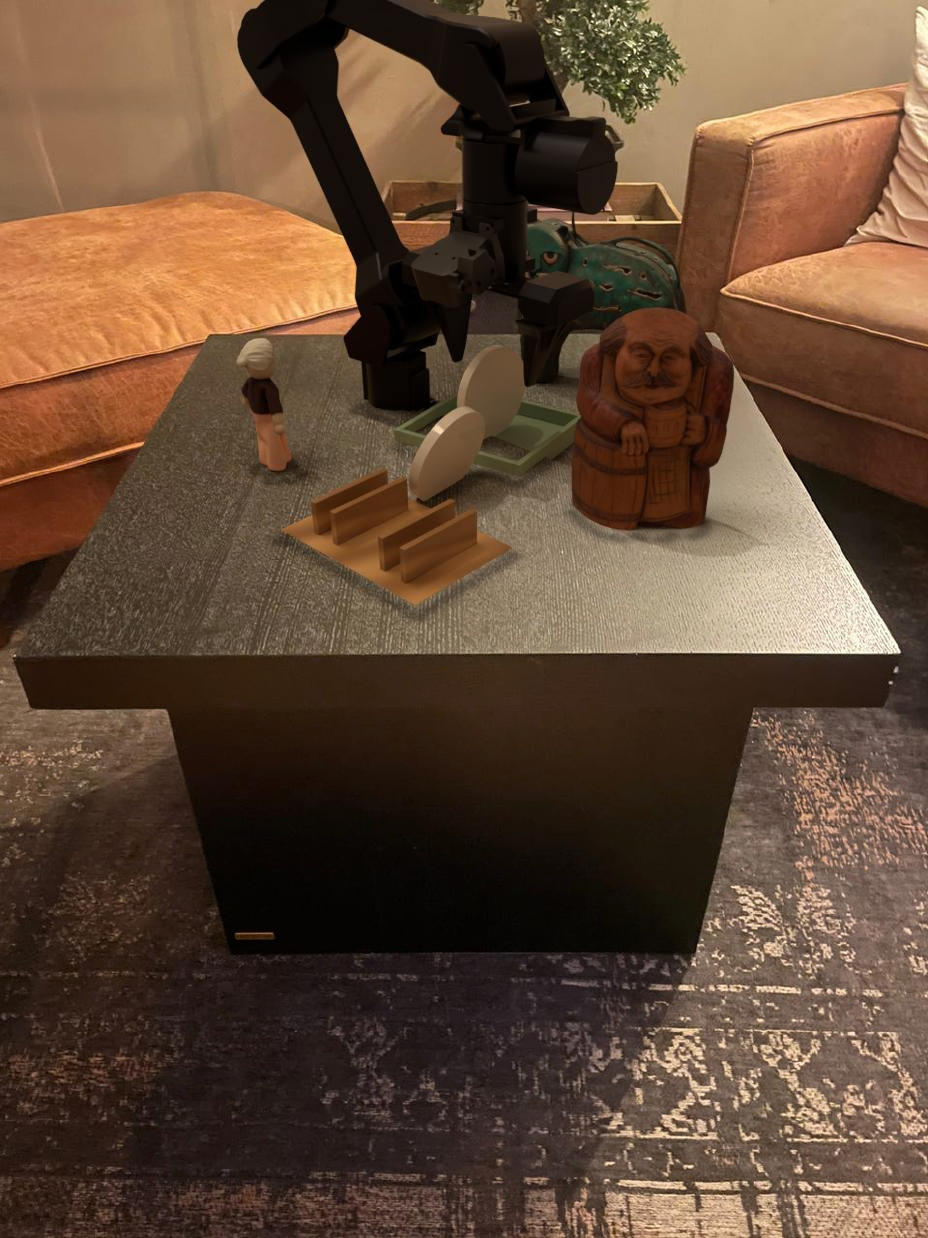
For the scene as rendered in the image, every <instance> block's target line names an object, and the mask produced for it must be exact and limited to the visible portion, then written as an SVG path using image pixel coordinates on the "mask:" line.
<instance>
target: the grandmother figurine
mask: <svg viewBox="0 0 928 1238" xmlns="http://www.w3.org/2000/svg"><path fill="white" fill-rule="evenodd" d="M273 354H274V348H273V344H272V343H271V342H270V341H269V340H268V339H267V338H264V337H260V338H253V339H251V340H249V341H248V342H247V343H245V344H244V346H243V348H242V349H241V351H240V353H239V355H238V356H237V359H236V361H235V362H236V365H237V366H238V367H240V368H246V371H247V373H248V375H250V377H248V378H247V379H246V380H245V381H244V383H243V385H242V386H241V389H240V391H241V394H242V401H241V403H242V406H243V407H245V408H246V409H247V408H248V409H249V408H250V410H251V412H252V415H253V419H254V423H255V430H256V435H257V446H258V458H259V462H260V464H262V465H264V466H267V468H268V469H269V471H273V472H281V471H284V470H286V468H287V463H289V462H290V461H291V460H292V459H293V457H292V452H291V448H290V444H289V441H288V437H287V434H286V433H287V427H286V425H285V417H284V409H283V405H282V403H281V399H280V389H279V387H278V385H276V383H275V382H274V381H273V380H272V378H271V377H272V376H273V375H274V373H275V371H276V366H277V365H276V360H275V357H274V356H273Z"/></svg>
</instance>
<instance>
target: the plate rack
mask: <svg viewBox="0 0 928 1238" xmlns="http://www.w3.org/2000/svg"><path fill="white" fill-rule="evenodd" d="M388 474H389V471H388V469H386V468H384V467H382V468H380V469H377V470H376V471H373V472H371V473H369V474H367V475H365V476H363V477H361V478H358V479H356V480H353V481H352V482H349V483H347V484H344V485H343V486H340V487H338V488H336V489H334V490H332V491H329V492H327V493H325V494H323V495H321V496H318V497H317V498H315V499H313V500H311V501H310V505H311V508H310V509H311V515H308V516H306V517H304V518H302V519H300V520H298V521H296V522H294V523H292V524H290V525H288V526H285V527H284V528H281V529H280V530H281V531H282V532H284V533H286V534H287V535H289V536H291V537H292V538H294V539H296V540H298V541H300V542H302V543H303V544H305V545H307V546H309V547H311V548H312V549H315V550H316V551H318V552H319V553H322V554H323V555H325V556H326V557H328V558H330V559H332V560H333V561H336V562H337V563H339V564H341V565H343V566H345V567H347V568H348V569H350V570H352V571H353V572H355V573H357V574H359V575H361V576H362V577H364V578H366V579H367V580H369V581H371V582H373V583H375V584H377V585H379V586H380V587H382V588H384V590H385V589H386V590H387V591H389V592H391V593H392V594H394V595H396V596H397V597H399V598H401V599H403V600H405V601H406V602H409V603H410V604H412V605H413V606H417V605H419V604H421V603H422V602H424V601H426V600H427V599H429V598H430V597H432V596H434V595H436V594H438V593H439V592H440V591H443V590H445V588H447V587H449V586H451V585H452V584H455V583H456V582H457V581H459V580H461V579H463V578H464V577H466V576H468V575H469V574H471V573H472V572H474V571H476V570H478V569H480V568H481V567H482V566H484V565H486V564H487V563H489V562H491V561H493V560H495V559H497V557H500V556H501V555H503V554H504V553H506V552H508V551H510V550H511V549H512V548H513V546H511V545H508V544H506V543H504V542H503V541H500V540H498V539H496V538H494V537H492V536H490V535H488V534H486V533H483V532H481V531H479V530H478V511H477V510H476V509H474V508H471V509H469V510H466V511H465V512H463V513H461V514H459V515H457V516H456V500H454V499H453V498H448V499H446V500H445V501H443V502H441V503H439V504H437V505H435V506H434V507H432V508H430V507H429V506H426V505H424V504H422V503H420V502H417V501H416V500H414V499H411V498H409V490H408V478H406V477H404V476H401V477H398V478H396V479H394V480H393V481H390V482H389V475H388Z"/></svg>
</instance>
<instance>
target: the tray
mask: <svg viewBox="0 0 928 1238" xmlns="http://www.w3.org/2000/svg"><path fill="white" fill-rule="evenodd" d="M457 397H458V391H456V392H454V393H453V394H451V395H449V396H447V397H446V398H444V399H442V400H441V401H440V402H438V403H436V404H435V405H433V406H431V407H430V408H428V409H426V410H424V411H423V412H420V414H418V415H416V416H414V417H413V418H411V419H409V420H407V421H406V422H404V423H402V424H400V426H398V427H396V428H394V429H393V432H394V435H393V436H394V441H396V442H399V443H402V444H406V445H409V446H413V447H416V448H419V447H420V446H421V444H422V442H423V441H424V439H425V438H426V436H427V435H425V434H421V433H418V431H419V430H422V429H423V428H424V427H426V426H427V425H429V424H431V423H432V422H434V421H435V420H438V419H439V418H440V417H442V418H443V417H444V416H445V415H447V414H448V413H450V412H451V411H453V410H454V409H457ZM580 417H581V416H580V413H579V412H575V411H570V410H567V409H562V408H559V407H555V406H551V405H547V404H542V403H539V402H534V401H531V400H527V399H524V398H523V399H522V402H521V405H520V408H519V410H518V412H517V414H516V416H515V417H514V419H513V421H512V422H511V423H510V425H509V426H508V427H507V428H506V429H505V430H504V431H503V432H502V433H500V434H499V435H497V436H495V437H494V438H497V439H499V440H500V441H504V442H506V443H509V444H512V445H515V446H517V447H520V448H522V449H525V450H527V451H529V452H528V453H527V454H525V455H524V456H523V457H522V458H520V459H518V461H517V460H513V459H510V458H505V457H503V456H498V455H496V454H492V453H488V452H486V451H482V450H479V453H478V455H477V457H476V459H475V461H474V462H473V464H474V465H478V466H481V467H485V468H488V469H490V470H491V469H492V470H495V471H498V472H501V473H505V474H507V475H512V476H515V477H517V478H520V477H521V476H522V475H524V474H525V473H527V472H528V471H529V470H530V469H532V468H533V467H534V466H535V465H536V464H538V463H539V462H540V461H542V460H543V459H545V458H547V459H549V460H553V459H555V458H556V457H558V455H560V454H561V453H562V452H564V451H565V450H567V448H569V447H570V446H571V445H572V444H573V443H574V434H575V428H576V424H577V421H578V419H580Z"/></svg>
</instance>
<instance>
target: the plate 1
mask: <svg viewBox="0 0 928 1238" xmlns="http://www.w3.org/2000/svg"><path fill="white" fill-rule="evenodd" d="M484 434H485V421H484V418H483V416H482V415H481V414H480V413H479V412H477V411H475V410H474V409H472V408H471V407H467V406H463V407H459V408H457V409H454V410H453V411H451V412H450V413H448V414H447V415H445V416H444V417H443V416H442V418H441V419H440V420H438V421H437V423H435V425H434V426H433V427H432V428H431V429H430V431H429V432H428V433H427V435H426V438H425V439H424V441H423V442H422V444H421V446H420V447H418V449H417V451H416V453H415V455H414V458H413V461H412V463H411V467H410V470H409V473H408V486H409V491H410V493H411V494H412V495H413V496H415V498H417V499H419V500H420V501H422V502H423V503H424V502H426V501H428V500H429V499H431V498H432V497H435V495H437V494H439V493H441V492H442V491H444V490H446V489H447V488H450V487H451V486H453V485H454V484H456V483H457V482H459V481H460V480H462V479H464V478H465V476H466V475H467V473H468V472H469V470H470V469H471V467H472V466H473V464H474V463H473V462H474V461H475V459H476V457H477V455H478V453H479V451H481V448H482V445H483V442H484V439H483V438H484Z"/></svg>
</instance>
